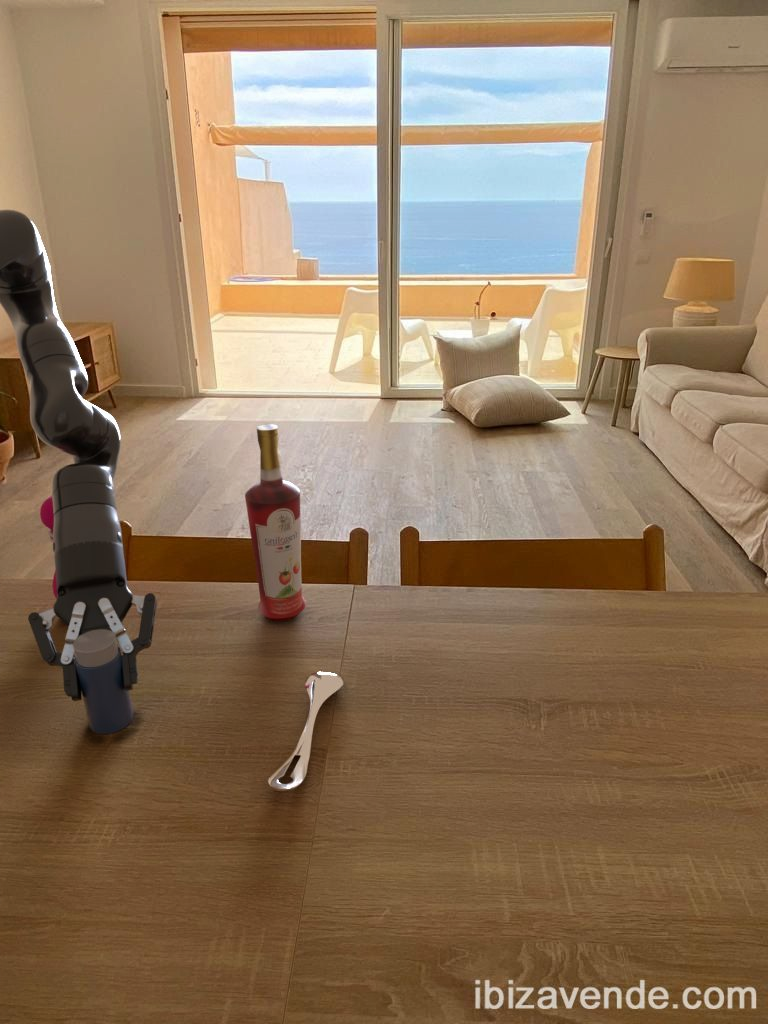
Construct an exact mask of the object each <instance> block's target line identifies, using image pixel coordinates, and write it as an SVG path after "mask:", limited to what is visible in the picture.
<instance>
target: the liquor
mask: <svg viewBox="0 0 768 1024" xmlns="http://www.w3.org/2000/svg"><path fill="white" fill-rule="evenodd" d="M256 434H257V435H256V437H257V442H258V446H259V451H260V459H259V462H260V463H259V464H260V467H259V469H260V471H259V472H260V474H259V475H260V476H259V477H260V479H259V482H257V483H254V484H253V485H252V486H251V487H250V488H248V490H247V491H245V493H244V498H245V506H246V512H247V519H248V526H249V532H250V538H251V543H252V550H253V557H254V562H255V571H256V577H257V585H258V592H259V593H258V594H259V603H258V605H257V610H258V612H259V613H260V614H261V615H262V616H264V617H266V618H267V619H269V620H271V621H273V622H279V623H281V622H287V621H291V620H293V619H294V618H295V617H297V616H298V615H299V614H301V612H303V611H304V610H305V608H306V606H307V602H306V599H305V598H304V597H303V583H302V582H303V581H302V579H303V578H302V518H301V517H302V515H301V489H300V488H299V487H298V486H296V485H295V484H293V483H292V482H290V481H287V480H284V478H283V472H282V467H281V461H280V456H279V450H278V448H279V426H278V425H277V424H272V423H267V424H266V423H265V424H260V425H258V426H256Z"/></svg>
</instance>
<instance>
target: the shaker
mask: <svg viewBox="0 0 768 1024" xmlns="http://www.w3.org/2000/svg"><path fill="white" fill-rule="evenodd" d="M73 649H74V653H75V660H74V662H75V667H76V671H77V675H78V680H79V684H80V688H81V696H82V700H83V705H84V709H85V713H86V718H87V722H88V727H89V729H90V731H92V732H93V733H96V734H99V735H109V734H114V733H116V732H119V731H121V730H123V729H125V728H126V727H127V726H128V725H130V724H131V722H132V721H133V719H134V711H133V706H132V701H131V695H130V690H129V691H126V690H125V687H124V678H123V669H122V657H121V655H122V649H121V647H120V646H119V644H118V641H117V639H116V635H115V633H114V632H112V631H110V630H106V629H98V630H92V631H89V632H86V633H84V634H82V635H80V636H79V637H77V638H76V639H75V641H74V643H73Z"/></svg>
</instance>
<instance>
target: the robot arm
mask: <svg viewBox="0 0 768 1024" xmlns="http://www.w3.org/2000/svg"><path fill="white" fill-rule="evenodd" d="M0 305H1V307H2V308H3V310H4V312H5V313H6V315H7V317H8V319H9V321H10V323H11V325H12V329H13V331H14V337H15V338H14V339H15V344H16V350H17V352H18V356H19V359H20V362H21V365H22V367H23V371H24V373H25V376H26V378H27V379H26V380H27V381H28V384H29V386H30V388H29V420H30V424H31V427H32V429H33V431H34V433H35V434H36V435H37V437H38V439H40V440H41V442H43V443H44V444H46V445H47V446H49V447H51V448H53V449H55V450H58V451H60V452H61V453H64V454H67V455H69V456H71V457H72V460H73V463H70V464H67V465H64V466H62V467H60V468H59V469H57V470H56V471H55V473H54V474H53V476H52V479H51V496H52V500H53V512H54V527H53V543H52V552H53V554H54V555H53V556H54V567H55V570H56V582H57V598H56V599H55V602H54V604H53V607H52V608H49V609H47V610H43V611H42V612H39V613H38V612H36V611H34V612H30V614H29V615H28V617H27V619H28V622H29V625H30V628H31V631H32V634H33V637H34V639H35V642H36V644H37V647H38V650H39V652H40V656H41V658H42V660H43V662H45V663H47V664H48V665H49V666H51V667H53V666H56V667H61V668H62V676H63V691H64V693H65V695H66V696H67V697H69V698H70V697H71V700H72V701H73V702H78V701H82V700H83V697H82V692H81V688H80V684H79V680H78V675H77V671H76V667H75V662H74V660H75V653H74V649H73V643H74V641H75V639H76V638H77V637H79V636H80V635H82V634H84V633H86V632H89V631H92V630H98V629H106V630H110V631H112V632H114V633H115V635H116V640H117V644H118V646H119V648H120V650H121V651H122V654H121V657H122V669H123V678H124V687H125V690H126V691H129V692H130V691H133V690H134V685H136V684H138V682H139V672H138V671H139V670H138V661H137V656H138V654H139V653H140V652H141V651H143V650H145V649H149V648H150V647H151V646H152V641H153V635H154V634H153V633H154V628H155V622H156V621H155V620H156V613H157V608H158V607H157V606H158V602H157V599H156V596H155V594H154V593H150V592H149V593H146V594H145V595H138V594H133V593H132V592H131V590H130V589H129V586H128V579H127V570H126V561H125V553H124V544H123V535H122V533H123V532H122V527H121V524H120V520H119V516H118V509H117V500H116V492H115V485H114V482H115V478H116V473H117V468H118V463H119V458H120V457H119V456H120V452H121V445H122V444H121V443H122V436H121V431H120V428H119V426H118V423H117V422H116V419H115V418H114V417H113V416H112V415H111V414H110V413H109V412H107V411H105V410H103V409H102V408H100V407H98V406H96V405H94V404H93V403H91V402H89V401H87V400H86V399H84V398H83V397H84V396H85V394H86V393H87V391H88V387H89V378H88V373H87V371H86V369H85V366H84V364H83V361H82V359H81V357H80V354H79V352H78V348H77V346H76V345H75V342H74V340H73V338H72V337H71V334H70V333H69V331H68V329H67V327H66V326H65V324H64V323H63V322H62V320H61V318H60V316H59V312H58V310H57V305H56V302H55V295H54V289H53V281H52V273H51V265H50V262H49V258H48V256H47V252H46V250H45V247H44V244H43V241H42V239H41V236H40V234H39V231H38V229H37V227H36V225H35V224H34V222H33V220H31V218H29V216H28V215H27V214H25V213H23V212H21V211H19V210H16V209H0ZM133 606H135V607H136V611H137V613H138V614H139V615H141V617H140V625H139V630H138V631H139V632H138V636H137V637H136V638H134V639H132V640H131V638H130V636H129V634H128V633H127V631H126V629H125V627H124V624H123V621H124V619H125V618H126V616H127V614H128V613H129V611H130V610H131V608H132V607H133ZM57 618H58V619H59V620H60V621H61V622H62V623H63V624H64V625H65V626H67V627H68V628H67V631H66V634H65V638H64V646H63V649H62V651H61V652H57V650H56V646H55V644H54V641H53V638H52V635H51V633H50V631H51V630H53V628H54V621H55V619H57Z"/></svg>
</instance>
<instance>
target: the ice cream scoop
mask: <svg viewBox="0 0 768 1024" xmlns="http://www.w3.org/2000/svg"><path fill="white" fill-rule="evenodd" d="M345 683H346V679H345V678H344V677H343V676H342V675H341V674H338V673H336V672H332V671H323V670H321V671H320V670H319V671H313V672H312V673H311V674H309V675H308V676H307V677H306V678H305V681H304V685H305V689H306V692H307V694H308V697H309V713H308V717H307V720H306V723H305V726H304V729H303V731H302V733H301V735H300V737H299V739H298V740H297V743H296V744H295V746H294V748H293V749H292V751H291V752H290V753H289V754H288V756H287V757H286V758H285V759H284V760H283V762H281V763H280V764H279V765H278V766H277V768H275V769H274V770H273V772H271V774H270V775H269V777H268V780H267V782H268V787H270V789H272V790H274V791H277V792H287V791H292V790H293V791H294V790H295V789H298V788H299V787H300V786H301V784H303V782H304V780H305V778H306V776H307V773H308V769H309V764H310V757H311V749H312V741H313V740H312V739H313V732H314V726H315V723H316V719H317V715H318V712H319V710H320V708H321V707H322V705H323V703H324V702H325V701H326V700H327V699H328V698H330V696H332V695H333V694H334V693H336V692H337V691H338V690H340V689H341V688H342V687H343V686H344V684H345ZM295 757H299V758H298V761H297V763H296V765H295V766H294V768H293V771H292V772H291V774H290V776H289V777H290V779H292V781H291V782H289V783H281V782H279V780H280V779H282V778H284V777H285V775H286V773H287V772H288V770H289V768H290V767H291V764H292V762H293V760H294V759H295Z"/></svg>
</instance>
